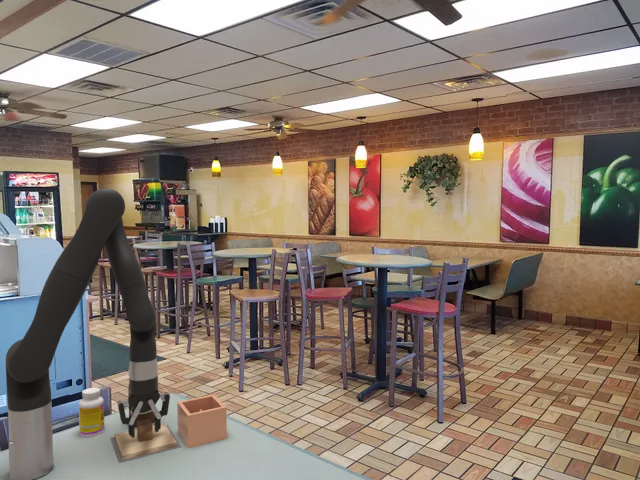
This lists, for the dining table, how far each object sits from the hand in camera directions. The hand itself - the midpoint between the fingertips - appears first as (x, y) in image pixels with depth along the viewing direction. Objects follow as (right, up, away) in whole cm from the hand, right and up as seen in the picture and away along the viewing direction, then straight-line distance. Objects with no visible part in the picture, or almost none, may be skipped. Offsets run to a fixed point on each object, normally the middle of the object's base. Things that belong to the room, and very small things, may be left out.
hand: (144, 433), depth 132 cm
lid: (0, -3, 0) cm, 3 cm away
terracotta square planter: (+15, -3, +5) cm, 16 cm away
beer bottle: (-6, -3, +13) cm, 15 cm away
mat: (0, -3, 0) cm, 3 cm away
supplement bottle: (-18, -3, +7) cm, 19 cm away
